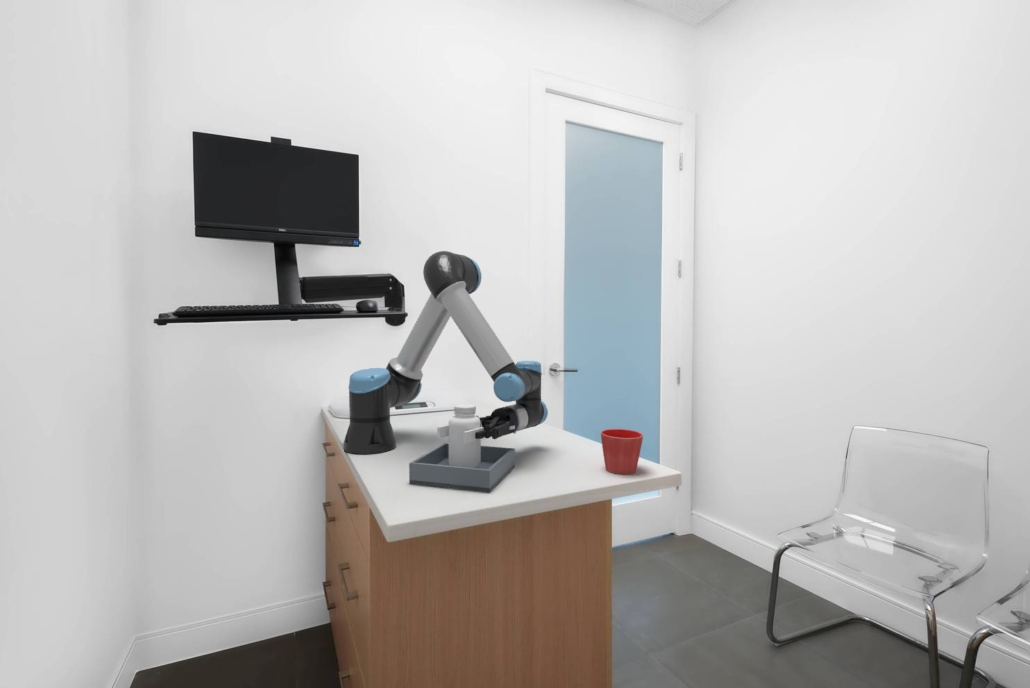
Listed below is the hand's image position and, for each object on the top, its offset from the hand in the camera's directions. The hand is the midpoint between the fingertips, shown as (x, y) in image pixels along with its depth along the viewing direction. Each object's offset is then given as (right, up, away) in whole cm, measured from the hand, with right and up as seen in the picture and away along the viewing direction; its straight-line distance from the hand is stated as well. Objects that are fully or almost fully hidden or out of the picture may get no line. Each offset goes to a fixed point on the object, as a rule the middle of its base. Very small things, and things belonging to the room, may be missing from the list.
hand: (451, 435), depth 119 cm
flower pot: (+43, -11, +9) cm, 45 cm away
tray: (+3, -11, +4) cm, 12 cm away
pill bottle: (+3, -9, +4) cm, 10 cm away
